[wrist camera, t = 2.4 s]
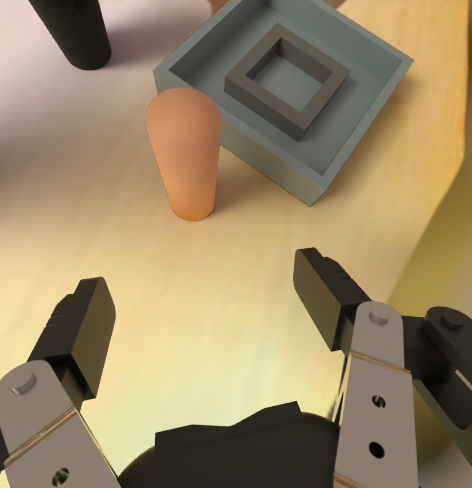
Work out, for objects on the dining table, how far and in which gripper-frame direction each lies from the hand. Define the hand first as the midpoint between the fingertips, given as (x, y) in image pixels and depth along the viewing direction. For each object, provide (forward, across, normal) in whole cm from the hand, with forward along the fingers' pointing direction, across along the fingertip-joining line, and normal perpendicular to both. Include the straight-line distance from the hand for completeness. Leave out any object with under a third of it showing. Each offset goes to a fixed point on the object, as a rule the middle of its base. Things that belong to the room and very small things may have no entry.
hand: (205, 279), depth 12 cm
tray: (+25, -12, -5) cm, 29 cm away
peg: (+17, 0, +3) cm, 17 cm away
